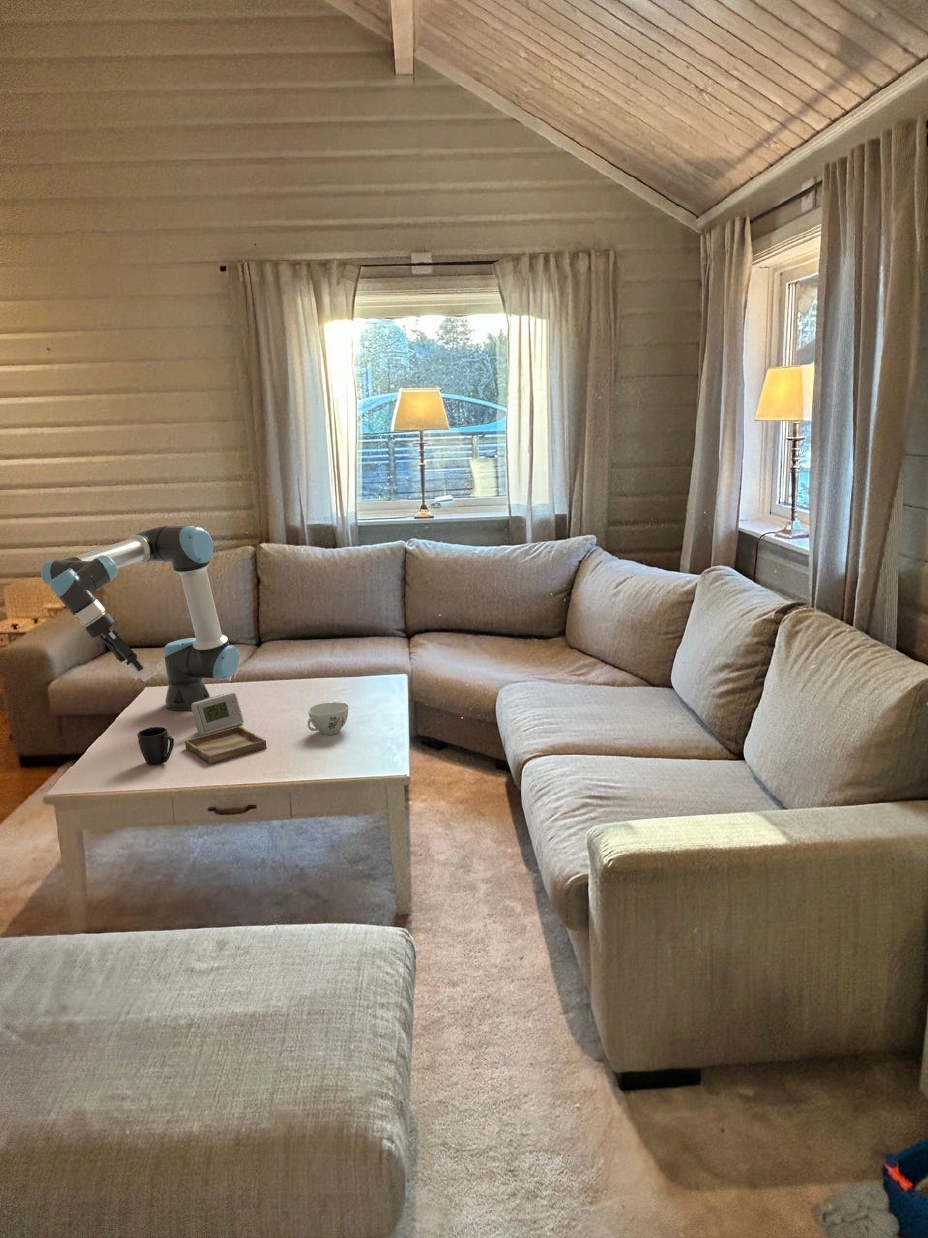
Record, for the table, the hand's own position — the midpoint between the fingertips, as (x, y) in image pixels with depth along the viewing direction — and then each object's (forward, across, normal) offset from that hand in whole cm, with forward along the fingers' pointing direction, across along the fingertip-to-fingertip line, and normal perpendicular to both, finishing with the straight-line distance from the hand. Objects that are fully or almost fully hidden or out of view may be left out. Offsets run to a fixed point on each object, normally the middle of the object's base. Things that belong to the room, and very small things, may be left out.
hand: (143, 678), depth 255 cm
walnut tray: (+32, -3, +6) cm, 33 cm away
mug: (+23, -3, -11) cm, 26 cm away
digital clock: (+31, -21, +10) cm, 39 cm away
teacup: (+48, +4, +32) cm, 58 cm away
